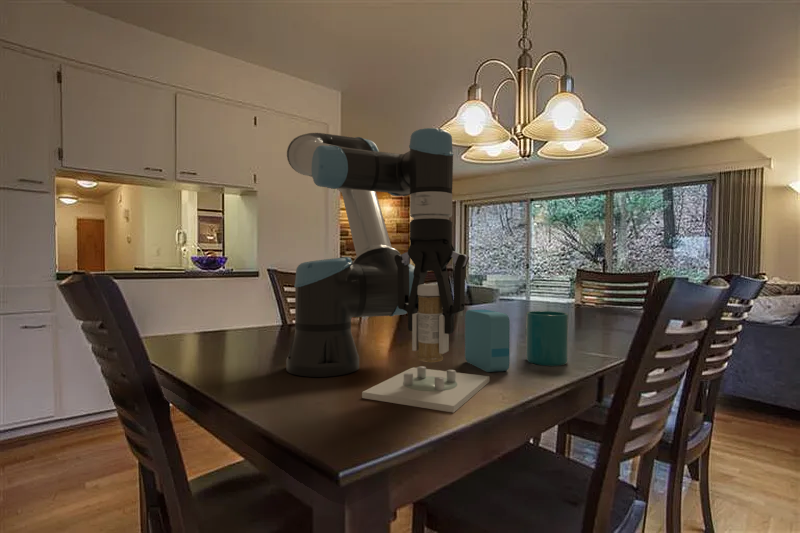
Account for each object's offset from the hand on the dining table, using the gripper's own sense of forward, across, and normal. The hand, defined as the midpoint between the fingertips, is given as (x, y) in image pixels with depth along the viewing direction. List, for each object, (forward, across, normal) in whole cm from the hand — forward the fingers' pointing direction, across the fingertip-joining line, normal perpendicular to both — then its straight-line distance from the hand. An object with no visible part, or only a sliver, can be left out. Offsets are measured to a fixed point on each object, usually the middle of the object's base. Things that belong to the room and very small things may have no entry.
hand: (430, 350), depth 80 cm
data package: (+7, +4, +22) cm, 23 cm away
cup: (+7, +14, +34) cm, 37 cm away
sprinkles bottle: (+2, 0, 0) cm, 2 cm away
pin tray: (+7, 0, 0) cm, 7 cm away
